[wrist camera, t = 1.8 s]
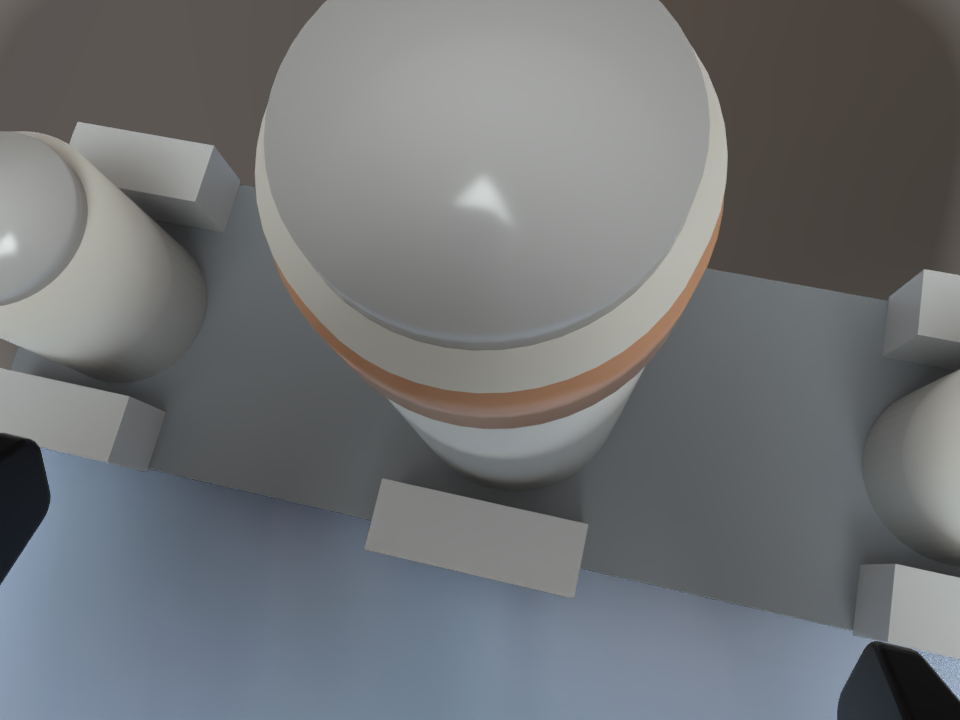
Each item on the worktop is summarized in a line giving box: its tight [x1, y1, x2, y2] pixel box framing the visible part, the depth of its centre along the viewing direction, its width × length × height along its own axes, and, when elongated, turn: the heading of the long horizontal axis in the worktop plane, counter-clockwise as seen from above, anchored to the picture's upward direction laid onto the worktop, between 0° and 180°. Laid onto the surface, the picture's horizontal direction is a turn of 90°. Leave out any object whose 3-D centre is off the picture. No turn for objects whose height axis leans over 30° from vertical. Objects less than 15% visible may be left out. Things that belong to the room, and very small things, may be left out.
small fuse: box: [0, 131, 207, 383], centre depth 18 cm, size 4×4×6 cm
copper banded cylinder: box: [255, 0, 728, 491], centre depth 13 cm, size 5×5×12 cm
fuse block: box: [0, 122, 960, 660], centre depth 19 cm, size 9×25×3 cm, turn 77°
